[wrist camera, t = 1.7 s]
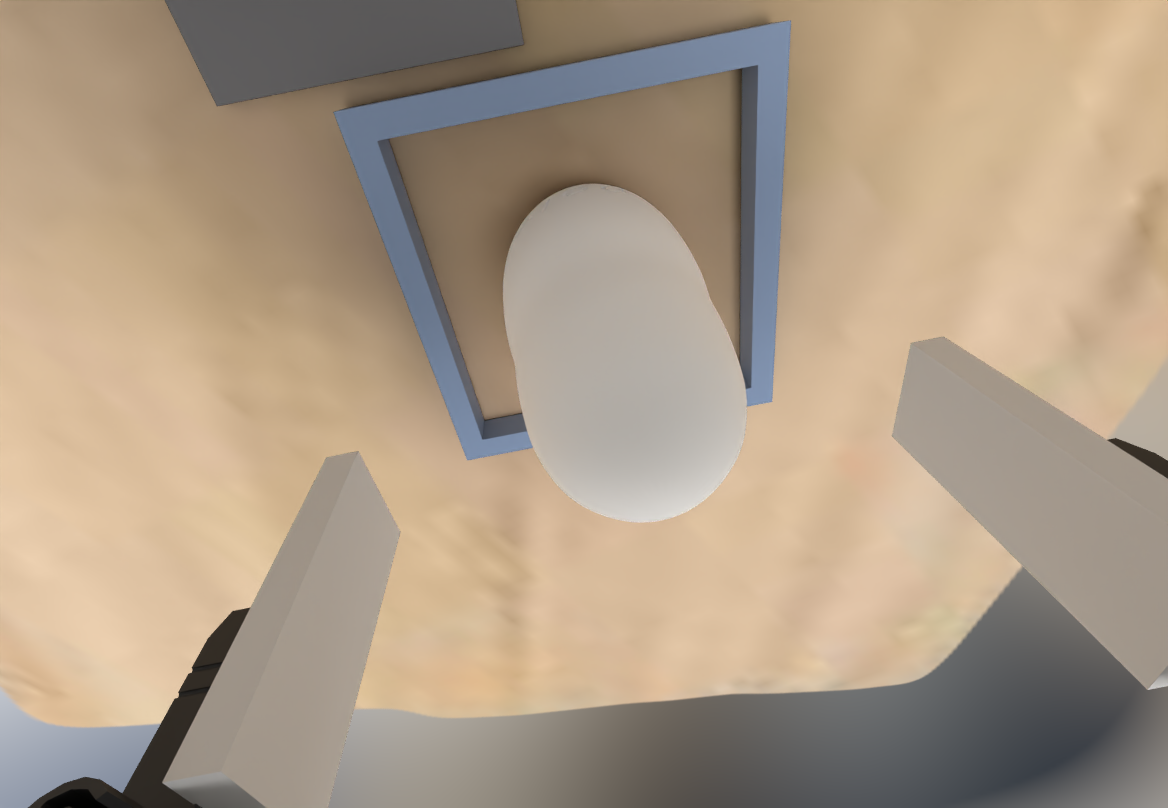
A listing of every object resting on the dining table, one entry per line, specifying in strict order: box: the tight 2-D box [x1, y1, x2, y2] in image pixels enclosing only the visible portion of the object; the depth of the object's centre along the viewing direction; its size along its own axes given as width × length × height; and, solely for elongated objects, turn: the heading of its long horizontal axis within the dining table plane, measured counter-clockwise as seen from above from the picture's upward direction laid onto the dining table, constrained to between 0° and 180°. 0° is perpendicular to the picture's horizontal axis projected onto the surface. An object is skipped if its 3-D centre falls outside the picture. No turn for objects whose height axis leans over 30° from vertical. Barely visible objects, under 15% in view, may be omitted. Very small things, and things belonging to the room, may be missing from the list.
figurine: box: [503, 184, 747, 522], centre depth 17 cm, size 7×8×12 cm
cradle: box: [333, 20, 791, 460], centre depth 21 cm, size 14×14×2 cm
